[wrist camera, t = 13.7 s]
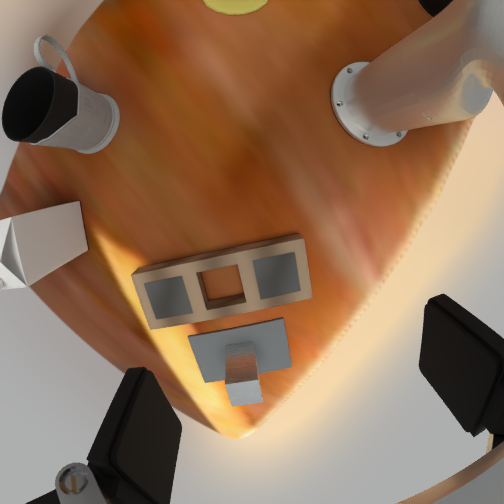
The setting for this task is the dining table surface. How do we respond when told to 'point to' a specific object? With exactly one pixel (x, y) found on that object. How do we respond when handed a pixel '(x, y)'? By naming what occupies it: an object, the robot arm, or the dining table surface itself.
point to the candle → (235, 6)
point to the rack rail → (200, 309)
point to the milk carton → (39, 243)
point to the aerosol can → (435, 6)
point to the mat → (262, 334)
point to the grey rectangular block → (242, 374)
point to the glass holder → (58, 109)
